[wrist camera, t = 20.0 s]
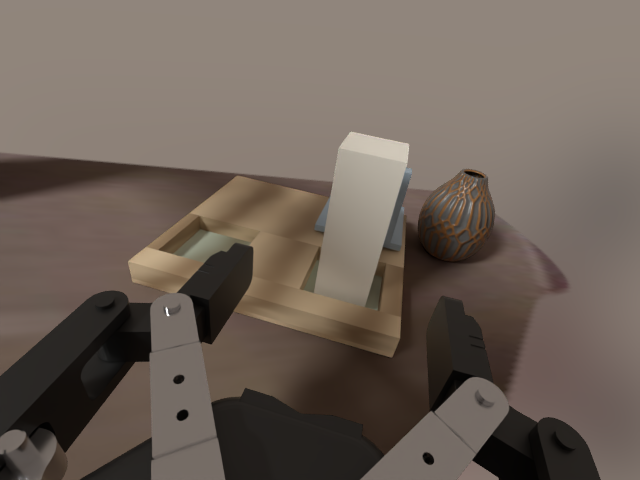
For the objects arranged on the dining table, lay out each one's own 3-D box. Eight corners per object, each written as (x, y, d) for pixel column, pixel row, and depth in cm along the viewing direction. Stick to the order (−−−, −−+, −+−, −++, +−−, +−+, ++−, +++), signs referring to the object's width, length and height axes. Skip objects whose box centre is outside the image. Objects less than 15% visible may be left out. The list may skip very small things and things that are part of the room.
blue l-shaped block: (314, 229, 31) (325, 154, 27) (332, 195, 38) (343, 131, 34) (399, 251, 30) (424, 176, 26) (402, 212, 37) (422, 148, 33)
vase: (397, 236, 37) (422, 159, 32) (445, 230, 40) (474, 159, 35) (438, 275, 32) (474, 192, 27) (490, 265, 34) (531, 188, 30)
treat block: (312, 298, 26) (338, 147, 19) (324, 269, 29) (350, 131, 23) (362, 313, 25) (407, 162, 19) (369, 281, 29) (409, 144, 22)
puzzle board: (132, 282, 25) (128, 261, 24) (237, 190, 40) (237, 175, 39) (392, 358, 23) (400, 338, 22) (401, 230, 38) (406, 215, 37)
